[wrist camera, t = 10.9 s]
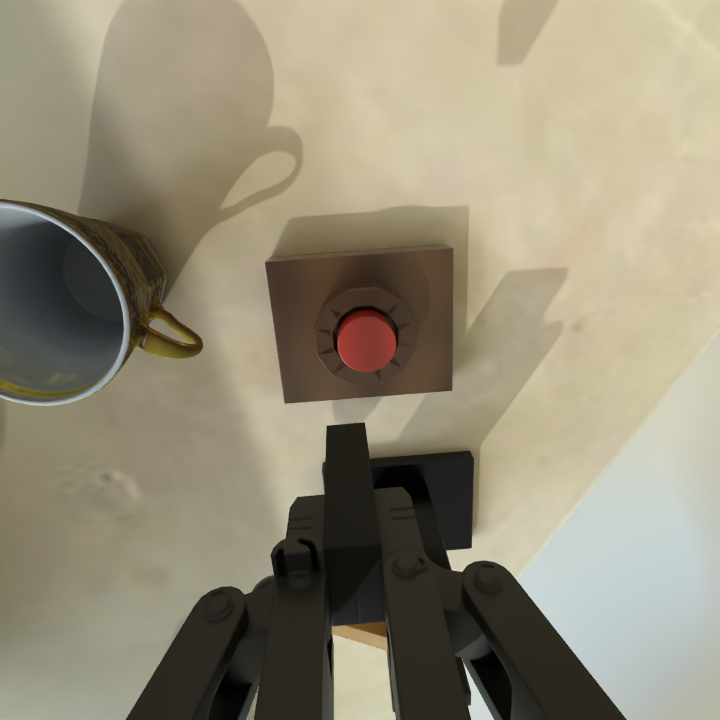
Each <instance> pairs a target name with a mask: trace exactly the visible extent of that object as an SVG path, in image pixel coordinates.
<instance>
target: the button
mask: <svg viewBox="0 0 720 720" xmlns="http://www.w3.org/2000/svg"><path fill="white" fill-rule="evenodd" d="M337 346H338V352H339V355H340V357H341V359H342V360H343V362H344V363H345V364H346V365H347V366H349V367H350V368H352V369H354V370H356V371H360V372H373V371H376V370H379V369H381V368H383V367H384V366H385V365H387V364H388V363H389V362H390V360H391V359H392V357H393V356H394V353H395V350H396V337H395V334H394V332H393V329H392V326H391V324H390V322H389V321H388V320H387V319H386V318H385V317H384V316H383V315H382V314H380V313H378V312H376V311H372V310H360V311H356V312H354V313H352V314H350V315H349V316H347V317H346V318H345V319H344V321H343V322H342V323H341V325H340V327H339V330H338V340H337Z"/></svg>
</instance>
